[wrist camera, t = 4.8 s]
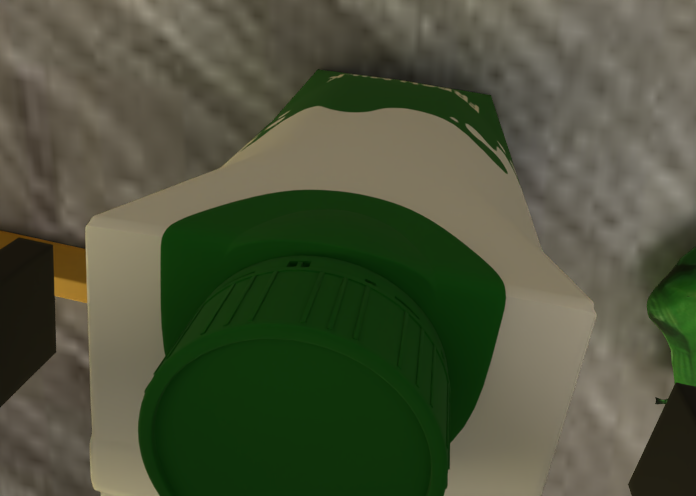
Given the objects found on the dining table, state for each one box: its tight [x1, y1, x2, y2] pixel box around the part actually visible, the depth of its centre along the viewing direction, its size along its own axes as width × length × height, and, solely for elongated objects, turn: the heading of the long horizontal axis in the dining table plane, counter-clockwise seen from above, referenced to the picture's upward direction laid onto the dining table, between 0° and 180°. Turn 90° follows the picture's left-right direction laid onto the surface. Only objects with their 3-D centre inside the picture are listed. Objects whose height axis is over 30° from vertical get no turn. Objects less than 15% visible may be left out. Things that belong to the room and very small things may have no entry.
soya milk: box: [85, 69, 597, 496], centre depth 18 cm, size 9×9×20 cm
